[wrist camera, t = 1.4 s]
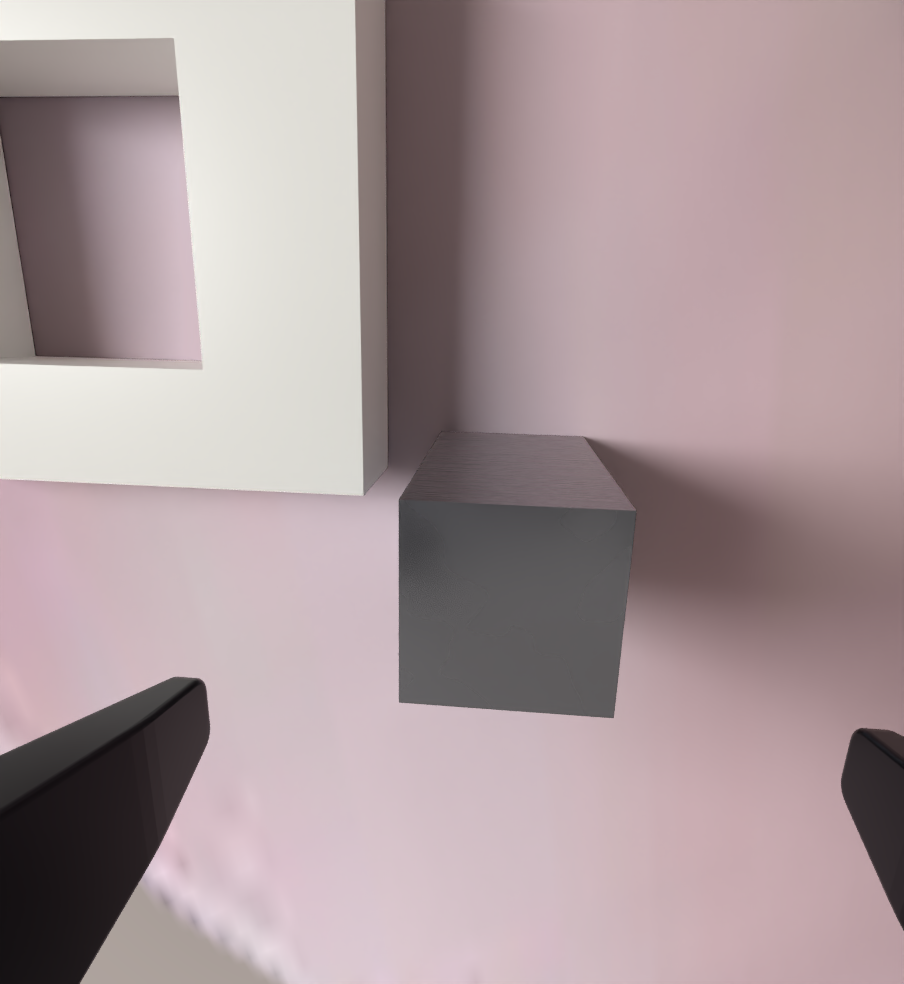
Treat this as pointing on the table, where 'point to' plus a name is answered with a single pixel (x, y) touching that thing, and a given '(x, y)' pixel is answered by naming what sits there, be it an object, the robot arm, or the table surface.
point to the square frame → (223, 249)
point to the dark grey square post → (513, 576)
